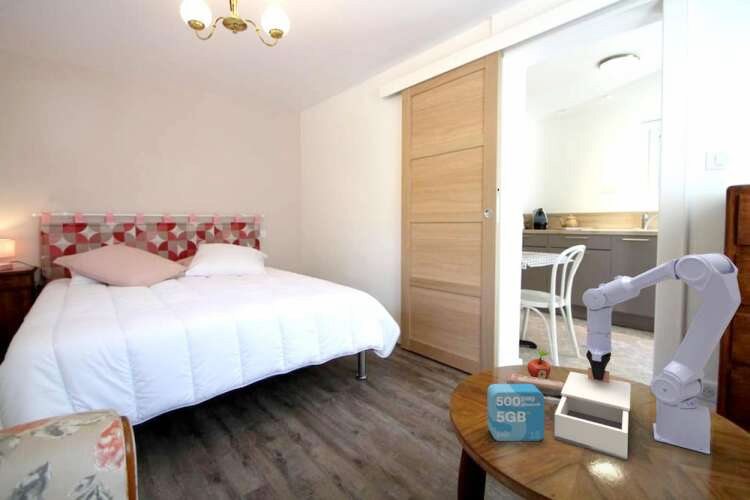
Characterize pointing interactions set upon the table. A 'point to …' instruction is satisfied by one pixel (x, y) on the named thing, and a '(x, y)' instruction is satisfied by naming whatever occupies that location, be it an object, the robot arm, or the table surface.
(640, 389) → the table surface
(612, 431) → the carton
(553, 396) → the packaged product
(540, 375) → the apple
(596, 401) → the carton lid
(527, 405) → the data package
